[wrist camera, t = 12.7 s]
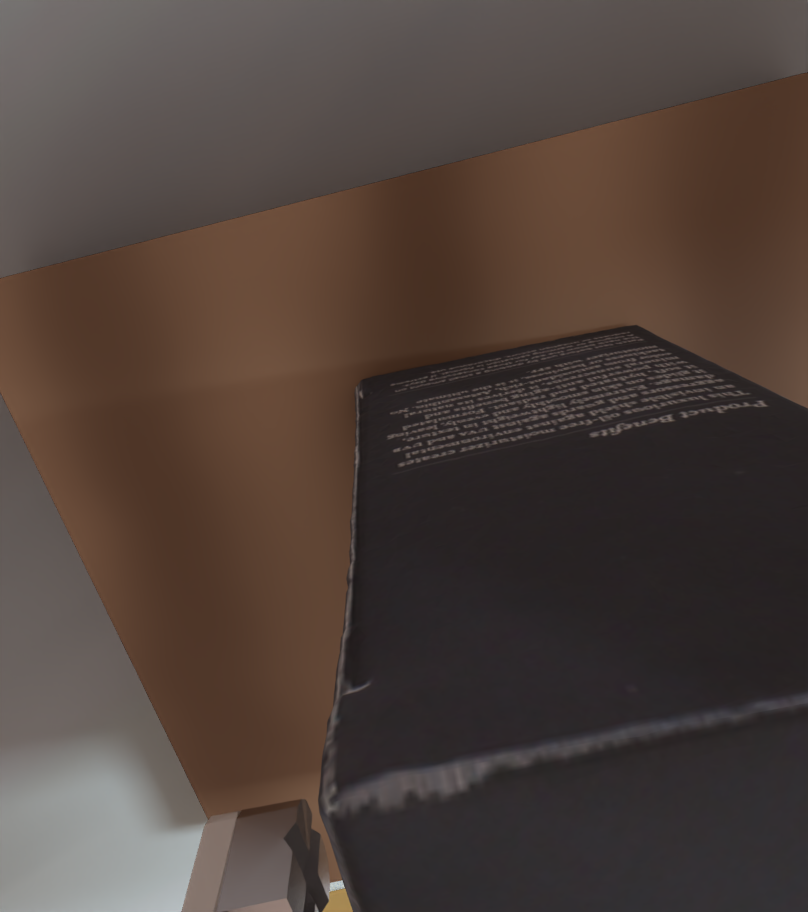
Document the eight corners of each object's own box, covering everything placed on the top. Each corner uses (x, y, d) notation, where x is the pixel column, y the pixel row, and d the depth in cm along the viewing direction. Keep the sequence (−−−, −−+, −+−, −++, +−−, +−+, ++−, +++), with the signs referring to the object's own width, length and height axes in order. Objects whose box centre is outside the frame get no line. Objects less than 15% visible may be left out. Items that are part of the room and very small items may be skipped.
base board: (788, 79, 15) (887, 52, 12) (795, 694, 21) (860, 769, 19) (26, 273, 15) (-50, 290, 13) (262, 811, 22) (247, 900, 19)
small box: (680, 709, 17) (1068, 1375, 8) (437, 753, 18) (508, 1450, 8) (658, 311, 13) (1407, 630, 4) (345, 376, 14) (259, 832, 4)
